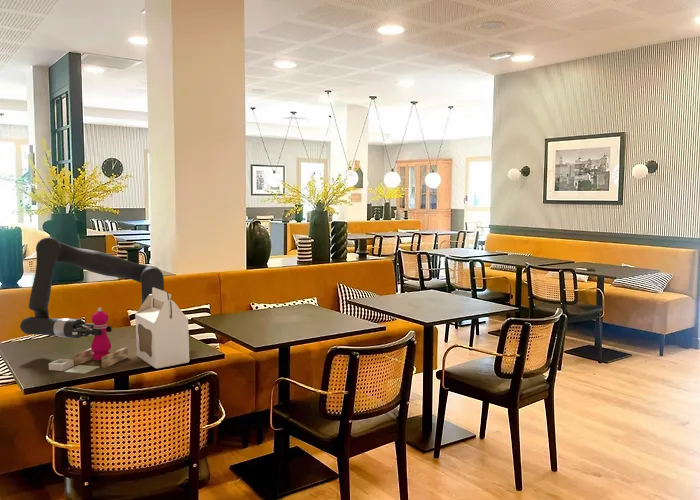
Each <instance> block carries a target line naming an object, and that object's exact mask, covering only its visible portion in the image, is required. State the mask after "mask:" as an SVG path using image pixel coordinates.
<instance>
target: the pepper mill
mask: <svg viewBox="0 0 700 500" xmlns="http://www.w3.org/2000/svg"><path fill="white" fill-rule="evenodd" d="M96 310H97V311H96V312H94V313H93V314H92V316H91V322H92V324H94V325H93V326H94V327H93V328H94V329H101V330H102V335H94V337H93V340H92V343H91V346H90V348H91V350H92V351H93V352H94V354H93V359H92V360H95V361H102V360H101V357H103V356H105V355H108V354H110V353H111V352H110V350H111V349H112V343H111V340H110V339H109V337H108V334H107V333H108V332H106V328H107V326H108V323H107V322H108V321H109V315H108V313H107V312H105V311H103V308H102V307H98V308H97V309H96Z"/></svg>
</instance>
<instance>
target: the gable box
mask: <svg viewBox="0 0 700 500" xmlns="http://www.w3.org/2000/svg"><path fill="white" fill-rule="evenodd" d="M172 296H173V294H171V293H169V291H165V290H164V291H163V290H161V289H158V288H155V287H153V288H152V294H150V295H148V296H147V298H146V299H145V301H144V302H143V304H142V303H141V305H140V306H139V308H138V309H137V311H136V313H135V314H134V316H135V318H134V319H135V336H136V337H135V339H136V340H135V341H136V343H135V344H136V356H137V357H138V358H140V359H141V360H142V361H144V362H145V363H147V364H149V365H150V366H152V367H153V368H154V369H162V368H166V367H167V368H168V367H171V366H177V365H182V364H186V363H187V364H188V363H189V362H190V342H189V340H190V338H189V318H188V317H187V316H186V315H185V314H184V313H183V311H182V310H181V309H180V307H179V306H178V305H177V303H176V302H175V301H174V300H172ZM162 302H164V303H162Z"/></svg>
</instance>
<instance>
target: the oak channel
mask: <svg viewBox="0 0 700 500" xmlns="http://www.w3.org/2000/svg"><path fill="white" fill-rule="evenodd" d="M128 351H129V349H128V347H122V348H119V349H117V350H115V351H113V352H110V354H108V355H105V356H103V357H101V360H100V361H101V368H102V367H103V368H108V367H111V366H112V365H114V364H116V363H117V364H118V363H119V362H121V361H123V360H125V359H128V358H129V352H128ZM93 354H94V352H93V351H92V350H91V347H90V348H88V349H84V350H82V351H80V352H78V353H75V354H73V355H72V360H74V366H76V365H77V366H78V365H82V364H83V363H87V362H89V361H91V360H94V359H93ZM86 361H87V362H86ZM81 363H82V364H81Z"/></svg>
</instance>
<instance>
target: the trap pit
mask: <svg viewBox="0 0 700 500" xmlns="http://www.w3.org/2000/svg"><path fill="white" fill-rule="evenodd" d="M73 367H75V365H74V360H73V359H69V358H68V359H67V358H58V359H56V360H54V361H51V362H49V363H48V371H58V372H59V371H60V372H64V371H66V370H68V369H71V368H73Z"/></svg>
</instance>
